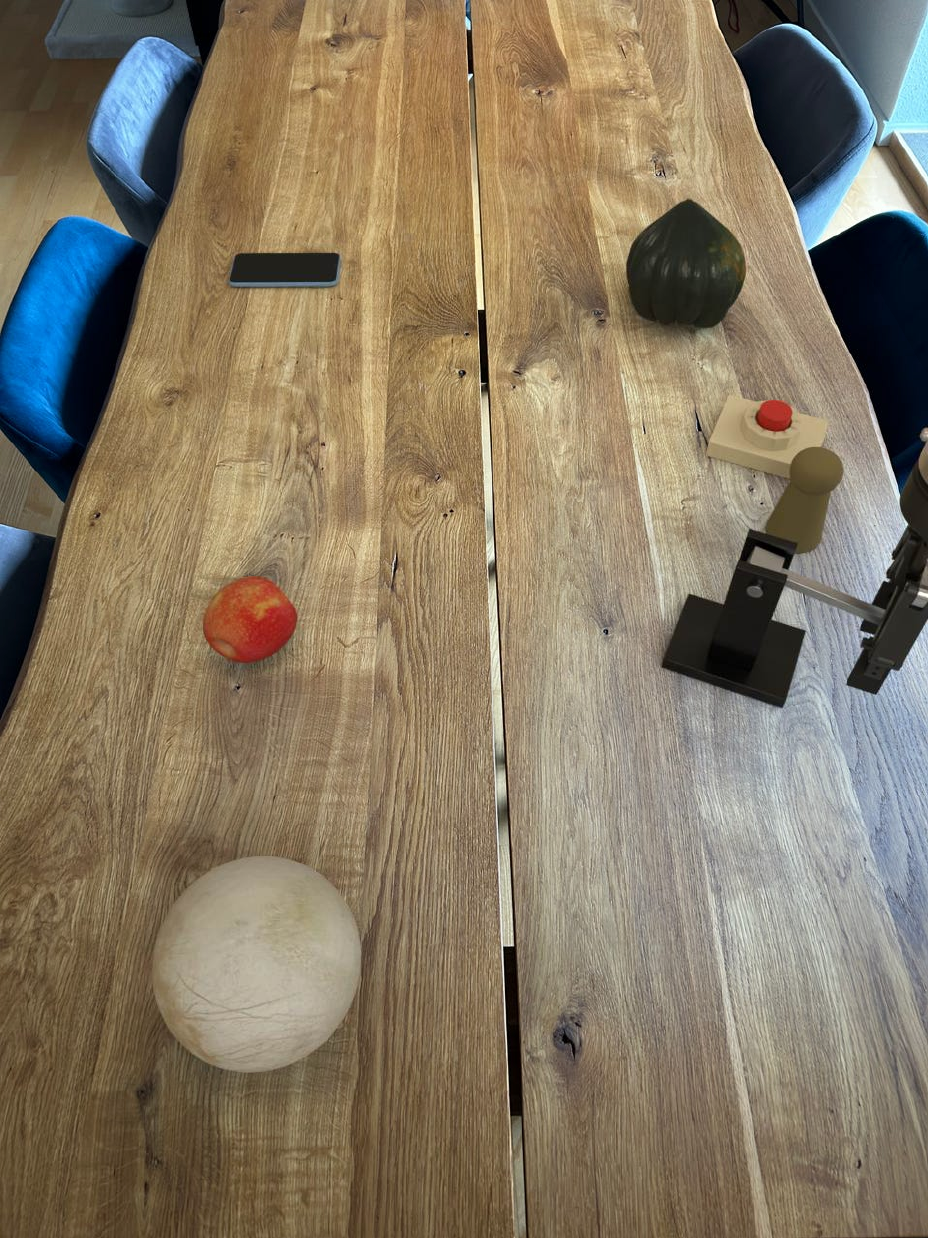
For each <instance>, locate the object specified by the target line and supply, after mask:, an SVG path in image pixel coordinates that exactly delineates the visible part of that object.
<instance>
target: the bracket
mask: <svg viewBox="0 0 928 1238" xmlns="http://www.w3.org/2000/svg"><path fill="white" fill-rule="evenodd" d="M755 546H757V547H760V548H762V549H765V550H767V551H769V552H772V553H774V554H777V555H779V556H782V557H784V558H785V560H784V563H783V566H782V568H785V569H787V570H789V571H790V567H791V564H792V562H793V560H794V557H795V554H796V553H795V552H796V549H797V546H798V543H796V542H793V541H789V540H786V539H783V538H779V537H776V536H773V535H769V534H766V532H762V531H759V530H756V529H752V528H749V529H748V531H747V534H746V537H745V540H744V544H743V546H742V549H741V552H740V556H739V558H738V560H737V562H736V565H735V568H734V571H733V573H732V577H731V580H730V583H729V586H728V590H727V592H726V596H725V599H724V602H723V603H721V602H718V601H715V600H711V599H708V598H705V597H702V596H699V595H696V594H693V593H688V594H687V597H686V599H685V601H684V604H683V607H682V610H681V612H680V615H679V617H678V620H677V623H676V625H675V628H674V630H673V633H672V636H671V638H670V641H669V643H668V646H667V649H666V651H665V652H664V656H663V658H662V663H661V666H660V667H661V668H662V669H665V670H668V671H670V672H673V673H676V674H679V675H683V676H685V677H688V678H690V679H693V680H697V681H701V682H702V683H706V684H709V685H711V686H714V687H718V688H720V689H724V690H727V691H730V692H733V693H736V694H738V695H741V696H744V697H747V698H750V699H753V700H755V701H759V702H762V703H764V704H767V705H771V706H773V707H776V708H779V709H783V708H784V706H785V703H786V701H787V699H788V695H789V692H790V688H791V685H792V681H793V678H794V674H795V670H796V668H797V664H798V661H799V657H800V654H801V651H802V646H803V644H804V640H805V636H806V632H807V630H806V629H804V628H799V627H796V626H793V625H790V624H787V623H783V622H781V621H777V620H774V619H773V617H774V616H775V615H774V614H775V612H776V610H777V607H778V604H779V602H780V599H781V596H782V594H783V592H784V589H785V584H786V581H787V578H788V575H787V574H783V573H780V572H777V571H774V570H770V569H767V568H764V567H761V566H757V565H754V564H751V563H747V562H746V561H747V559H748V558H749V556H750V554H751V553H752V551H753V549H754V547H755Z"/></svg>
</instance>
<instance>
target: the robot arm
mask: <svg viewBox="0 0 928 1238" xmlns="http://www.w3.org/2000/svg"><path fill="white" fill-rule="evenodd" d="M919 438H920V440H921V441H922V442H925V444H924V447H923V449H922V451H921V452H920V455H919V457H918V459H917V461H915V464H914V465H913V467H912V469H911V472H910V474H909V475H908V477H907V480H906V481H905V484H904V486H903V488H902V490H901V492H900V495H899V500H898V501H899V510H900V513H901V515H902V517H903V519H904V521H905V522H906V523H907V525H906V527H905V529H904V531H903V533H902V535H901V537H900V539H899V540H898V542H897V544H896V546H895V548H894V549H892V552H891V560H892V563H891V564H890V566H889V567H888V568H886V569H887V570H886V572H885V576H886V577H885V579H887V580H888V581H886V580H883V581H882V582H881V584H880V587H879V588H878V590H877V591H876V592H877V593H876V594H875V596H874V598H873V599H872V602H871V604H872V605H874V606H877V607H879V608H882V609H884V610H886V611H885V613H884V615H883V617H882V620H881V622H880V624H879V625H877V624H875V623H872V622H870V621H867V620H865V619H863V618H862V622H861V624H860V627H859V631H860V632H864V633H866V634H869V635H870V636H869V637H866V636H863V637H862V639H861V642H860V648H862V650H861V653H860V654H859V656H858V658H857V660H856V662H855V664H854V665H853V667H852V670H851V671H850V673H849V675H848V676H847V679H846V683H845V686H847V687H850V688H853V689H855V690H856V689H857V690H860V691H863V692H865V693H868V694H871V695H874V696H877V694H878V693H879V691H880V690H881V687H882V686H883V684H884V683H885V681H886V679H887V678H888V676H889V674H890V672H891V671H892V670H893V671H895V672H899V671H900V670H901V669H902V667H903V665H904V663H905V660H906V659H907V657H908V656H909V653H910V652H911V650H912V648H913V646H914V644H915V643H916V642H917V639H918V637H920V635H921V632H922V631H923V629H924V627H925V626H926V624H927V622H928V427H924V428H923V429H922V430H921V432H920V435H919ZM893 592H894V593H893ZM891 593H893V595H892V598H891V600H890V602H889V604H888V599H889V595H890V594H891ZM887 604H888V606H887ZM886 608H887V609H886Z"/></svg>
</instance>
